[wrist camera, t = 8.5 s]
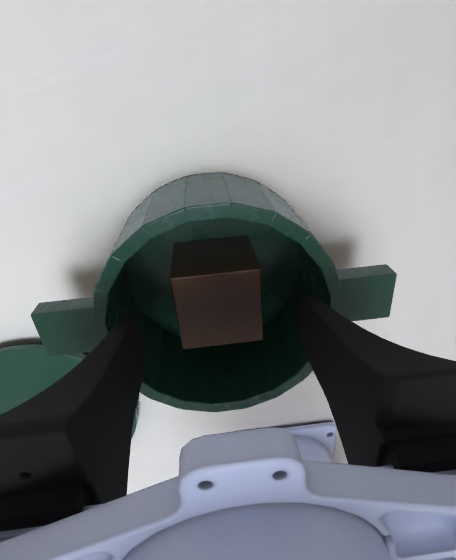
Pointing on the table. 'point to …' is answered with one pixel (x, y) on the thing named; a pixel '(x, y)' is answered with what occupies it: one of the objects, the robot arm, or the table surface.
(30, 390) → the lid
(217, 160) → the table surface
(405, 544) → the robot arm
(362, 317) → the pot
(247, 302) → the block
